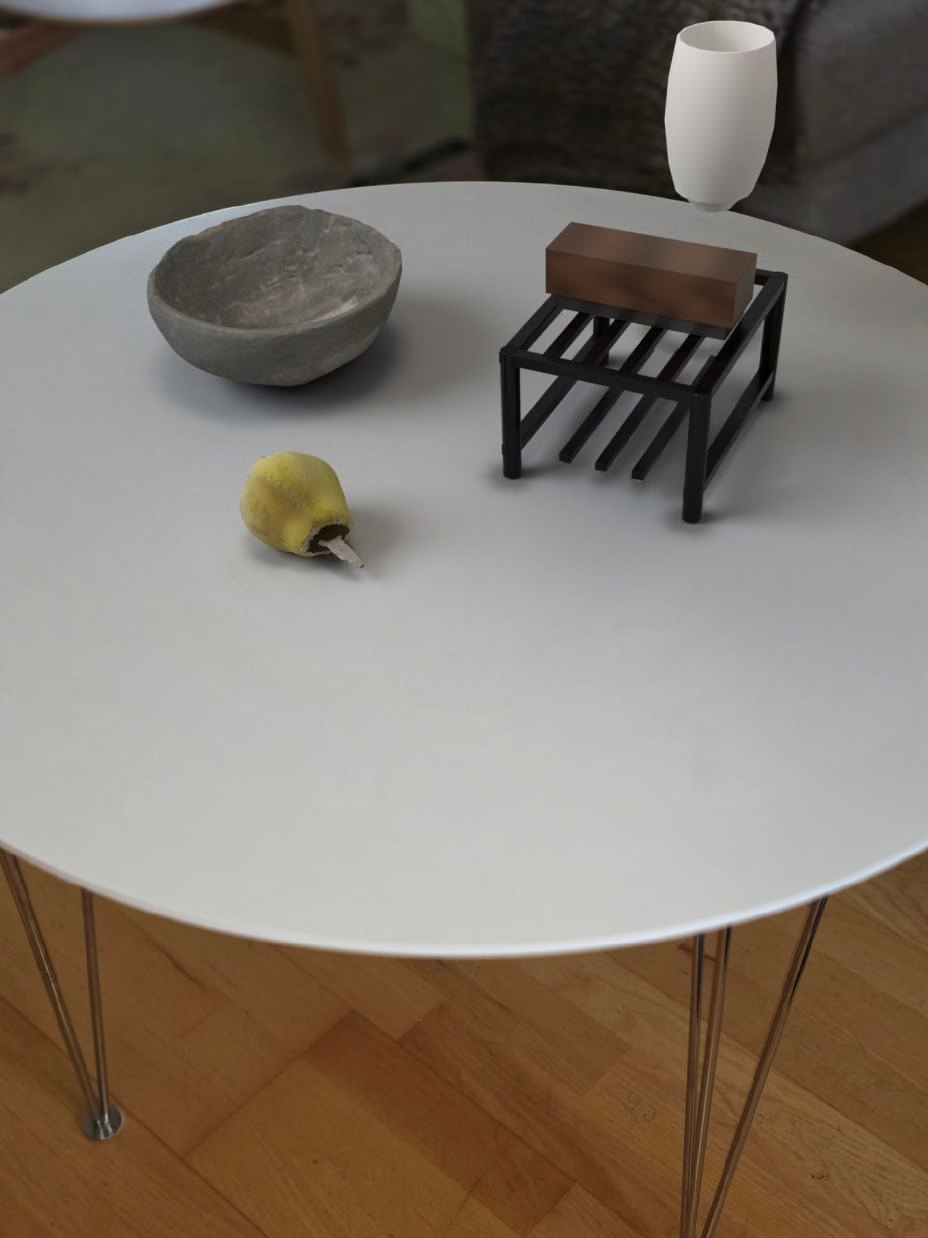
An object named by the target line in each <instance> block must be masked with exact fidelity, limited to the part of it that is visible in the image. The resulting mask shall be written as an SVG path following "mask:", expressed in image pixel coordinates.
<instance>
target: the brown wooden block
mask: <svg viewBox="0 0 928 1238" xmlns="http://www.w3.org/2000/svg"><path fill="white" fill-rule="evenodd" d="M757 261H758V253H757V252H750V251H745V250H739V249H734V248H727V247H721V246H716V245H710V244H704V243H699V242H692V241H686V240H681V239H674V238H669V237H663V236H658V235H657V236H656V235H651V234H646V233H639V232H634V231H627V230H622V229H616V228H612V227H611V228H610V227H606V226H600V225H593V224H589V223H588V224H586V223H582V222H576V221H570V222H569V223H568V224H567V225H566V226H565V228H563V230H562V231H561V232H559V234H558V235H557V236H556V237H555V238H554V239H553V240H552V241H551V242H550V243H548V245H547V246H546V247H545V294H549V295H551V294H553V307H555V308H560V309H564V310H565V311H572V312H576V313H578V312H580V313H585V314H590V315H596V316H601V317H606V318H610V320H611V319H612V320H615V319H616V320H621V321H626V322H631V324H637V325H642V326H647V327H657V328H662V329H667V330H668V331H672V332H677V333H683V334H688V335H689V334H692V335H697V336H702V337H706V338H707V339H714V340H719V341H723V342H726V341H727V339H728V338H729V336H730V335H731V334H732V332H733V331H734V329H735V328H736V326H737V325H738V323H739V322H740V320H741V319H742V317H743V316H744V314H745V313H744V312H746V310H747V308H748V307H749V305H750V303H751V302H752V300H753V299H754V289H755V284H754V281H755V271H756V268H757Z"/></svg>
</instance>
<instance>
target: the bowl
mask: <svg viewBox="0 0 928 1238" xmlns="http://www.w3.org/2000/svg"><path fill="white" fill-rule="evenodd" d="M402 274H403V259H402V252H401V248H399V247H398V246H397V245H396V244H395V243H394V242H392V241H390V240H389V239H388V237H387V236H385V235H384V234H382V233H381V232H380V231H378V230H377V229H376V228H374V227H372V226H371V225H369V224H365V223H364V222H362V221H360V220H358V219H355V218H353V217H349V216H346V215H343V214H340V213H339V214H338V213H333V212H329V211H326V210H323V209H321V208H314V209H311V208H309V207H306V206H303V205H300V204H291V205H289V204H288V205H287V204H286V205H280V206H275V207H271V208H265V209H260V210H258V211H254V212H252V213H250V214H247V215H244V216H239V217H235V218H232V219H229V220H226V221H222V222H221V223H220V224H218V225H214V226H210V227H207V228H205V229H204V230H202V231H200V232H199V233H198V234H190V235H187V236H184V237H183V238H181V239H179V240H178V241H176V242H175V243H174V244H173V245H172V246H171V247H169V248H168V249H167V250H166V252H164V254H163V255H162V257H161V260H160V261H159V262H158V263H157V264H156V265H154V267H153V268H152V270H151V271H150V272H149V273H148V277H147V284H146V299H147V305H148V306H147V307H148V310H149V313H150V316H151V318H152V320H153V322H154V324H155V325H156V328H157V329H158V330H159V332H160V333H161V335H162V337H163V338H164V340H165V341H166V342H167V344H168V345H169V346H170V348H171V349H172V350H173V351H174V352H175V353H176V355H177V356H178V357H180V358H181V359H183V360H184V361H185V362H187V363H188V364H189V365H192V366H193V367H194V368H196V369H198V370H201V371H203V372H204V373H207V374H211V375H213V376H215V377H218V378H221V379H225V380H228V381H231V382H232V381H233V382H240V383H249V384H255V385H256V384H257V385H265V386H281V387H293V386H294V387H295V386H301V385H306V384H308V383H310V382H312V381H314V380H317V379H318V378H321V377H323V376H325V375H327V374H329V373H331V372H332V371H334V370H337V369H338V368H340V367H342V366H343V365H346V364H347V363H349V362H351V361H353V360H355V359H356V358H358V357H359V356H360V355H362V354H363V353H364V352H365V351H366V350H367V349H368V348H369V347H370V346H371V345H372V343H374V341H375V339H376V338H377V336H378V335H379V333H380V332H381V331H382V329H383V327H384V325H385V324H386V323H387V321H388V318H389V317H390V316H391V312H392V311H393V307H394V304H395V303H396V300H397V296H398V293H399V288H400V283H401V278H402Z"/></svg>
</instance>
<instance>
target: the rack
mask: <svg viewBox="0 0 928 1238" xmlns="http://www.w3.org/2000/svg"><path fill="white" fill-rule="evenodd" d="M788 283H789V273H786V272H784V271H778V270H776V271H774V270H768V269H763V268H757V267H756V271H755V281H754V286H761V289H760V291H758V294H757V295H756V296H755V298H754V300H753V301H752V303H751V304H749V305H750V306H748V307H747V308H748V309H746V310H745V313H744V314H743V315H742V317H741V318H740V320H739V321H738V323H737V324H736V326H735V327H734V329H733V330H732V332H731V333H730V334H729V336H728V337H727V339H726V340H725V341H724V344H723V345H722V347H721V348H720V350H719V351H718V352H717V354H716V355H714V354H710V355H709V357H708V358H707V360H706V361H705V363H704V364H703V365H702V367H701V369H699V371H698V373H697V374H696V376H695V377H694V379H693V381H691V383H690V384H687V383H682V382H677V380H678V378H679V377H680V375H681V374H682V373H683V371H684V369H686V367H687V365H688V364H689V363H690V361H691V360H692V358H693V357H694V356H695V354H696V352H697V351H698V350H699V348H700V346H701V345H702V344H703V342H704V341H705V340H706V338H707V337H702V336H697V335H692V334H688V335H687V337H686V338H685V339H684V340H683V342H682V343H681V345H680V346H679V348H678V347H677V348H676V349H675V351H674V352H673V353H672V355H671V357H669V359H668V361H667V362H666V363H665V365H664V366H663V367H662V369H660V371H659V373H658V374H657V375H656V377H654V376H650V375H649V376H648V375H644V374H639V372H640V371H641V369H643V367H644V366H645V364H646V363H647V362H648V360H649V359H650V358H651V356H652V355H653V353H654V352H655V350H656V347H657V346H658V344H659V343H660V342H661V341H662V339H663V338H664V336H665V335H666V334H667V333H668V331H669V330H667V329H662V328H657V327H652V326H650V328H649V330H648V331H647V332H646V333H645V335H644V336H643V338H642V339H641V340H640V341H639V343H638V344H637V345H636V346H635V348H634V349H633V350H632V351H631V353H630V354H629V355H628V357H627V358H626V360H624V362H623V363H622V364H621V366H620V367H619V368H618V369H616V368H610V367H607V365H609V363H610V351H611V350H612V348H613V347H614V346H615V344H617V342H618V341H619V339H621V337H622V335H623V334H624V333H625V332H626V331H627V330H628V329H629V327H630V326H631V324H632V323H631V322H626V321H621V320H616V319H613V321H611V318H606V317H601V316H596V315H590V314H585V313H580V312H577V313H576V315H575V316H574V317H573V318H572V319H571V321H570V322H569V323H568V324H567V325H566V326H565V327H564V328H563V330H562V331H561V332H560V333H559V335H557V337H555V339H554V340H553V341H552V342H551V344H549V346H548V347H547V348H546V349H545V351H544V352H543V353H541V352H535V351H530V348H532V346H534V344H535V343H536V342H537V340H538V339H539V338H540V337H541V336H542V335H543V334H544V333H545V331H546V330H547V329H548V328H549V327H550V325H552V323H554V321H555V320H556V319H557V318H558V317H559V315H560V314H561V313H562V312H563V311H564V310H565V309H560V308H555V307H553V294H550V295H549V297H548V298H547V299H546V300H545V301H544V302H543V303H542V304H541V305H540V306H539V308H538V309H537V310H535V312H534V313H533V314H532V315H531V316H530V318H529V319H527V321H526V322H525V323H524V324H523V325H522V326H521V327H520V329H519V330H518V331H517V332H516V333H515V334H514V335H513V336H512V337H511V338H510V339H509V341H508V342H507V343H506V344H505V345H503V346H502V347H500V348H499V351H498V363H499V376H500V377H499V378H500V409H501V410H500V411H501V412H500V413H501V456H502V475H503V477H504V478H506V479H509V480H514V479H518V478H520V477H521V476H522V474H523V472H522V471H523V464H522V457H523V456H522V451H523V450H524V449H525V448H526V446H527V445H528V444H529V442H530V441H532V439H533V437H534V436H535V435H536V434H537V433H538V431H539V430H540V429H541V427H542V426H543V425H544V424H545V423H546V421H547V420H548V419H549V417H550V416H551V415H552V414H553V413H554V412H555V410H556V409H557V408H558V406H559V405H560V403H562V401H563V400H564V399H565V398H566V397H567V395H568V393H570V391H571V390H573V388H574V386H575V385H576V384H577V383H578V381H579V382H584V383H588V384H592V385H597V386H602V387H607V390H606V391H605V392H604V393H603V395H602V396H601V398H600V399H599V400H598V402H597V403H596V404H595V405H594V406H593V408H592V409H591V411H590V412H589V413H588V414H587V416H586V417H585V419H584V420H583V421H582V422H581V424H580V425H579V426H578V428H576V430H575V432H574V433H573V434H572V435H571V437H570V438H569V440H568V441H567V442H566V444H564V446H563V448H562V449H561V450H560V451H559V453H558V462H560V463H564V464H570V465H571V464H572V462H573V461H574V460H575V459H576V457H577V456H578V455H579V453H580V452H581V450H582V449H583V448H584V446H585V445H586V443H587V442H588V441H589V439H590V438H591V437H592V435H593V434H594V433H595V432H596V431H597V430H598V427H599V426H600V425H601V423H602V422H603V421H604V420H605V418H606V417H607V415H608V414H609V412H610V411H611V410H612V408H613V407H614V406H615V405H616V403H617V402H618V401H619V400H620V398H621V397H622V395H623V394H624V393H625V391H626V392H630V393H635V394H640V395H642V396H641V398H639V400H638V402H637V403H636V405H635V406H634V407H633V409H632V410H631V411H630V413H629V414H628V416H627V417H626V419H624V421H623V422H622V423H621V425H620V427H619V428H618V429H617V431H616V432H615V434H614V435H613V436H612V438H611V439H610V440H609V442H608V443H607V444H606V446H605V447H604V449H603V450H602V452H601V453H600V455H599V456H598V457H597V458H596V460H595V461H594V470H595V471H599V472H603V473H607V472H608V470H609V469H610V468H611V466H612V465H613V464H614V462H615V461H616V459H617V458H618V457H619V455H620V454H621V452H622V451H623V450H624V448H625V447H626V446H627V444H628V442H629V441H630V439H631V438H632V437H633V435H635V432H636V431H637V430H638V428H640V426H641V424H642V423H643V421H644V420H645V418H646V417H647V416H648V414H649V413H650V411H651V410H652V408H653V407H654V406H655V404H656V403H657V401H658V400H659V399H662V400H667V401H673V402H677V403H676V405H675V406H674V408H673V410H672V411H671V413H670V414H669V415H668V417H667V418H666V420H665V421H664V422H663V425H662V426H661V427H660V429H659V430H658V431H657V433H656V434H655V435H654V437H653V439H652V440H651V441H650V443H649V445H648V446H647V448H646V449H645V450H644V452H643V453H642V455H641V456H640V458H639V459H638V460H637V462H636V463H635V464H634V466H633V468H632V469H631V473H630V474H631V475H630V479H632V480H636V481H638V482H639V481H640V482H644V481H645V479H646V477H648V475H649V473H650V471H651V470H652V468H653V467H654V466H655V464H656V463H657V461H658V460H659V458H660V456H662V454H663V452H664V451H665V449H666V448H667V446H668V445H669V443H670V442H671V441H672V439H673V437H674V436H675V434H676V433H677V431H678V430H679V428H680V427H681V425H682V424H683V423H684V421H685V419H686V417H688V414H689V417H688V429H687V440H686V453H685V465H684V466H685V467H684V480H683V489H682V490H683V492H682V502H681V503H682V504H681V519H682V521H683V522H685V523H687V524H696V523H699V522H700V521H701V520H702V516H703V505H704V504H703V503H704V494H705V492H706V491H707V489H708V487H709V486H710V484H711V482H712V481H713V479H714V478H715V476H716V474H717V473H718V471H719V469H720V467H721V466H722V464H723V463H724V461H725V459H726V458H727V456H728V454H729V453H730V451H731V450H732V447H733V446H734V444H735V443H736V441H737V440H738V438H739V436H740V435H741V432H742V431H743V429H744V428H745V426H746V425H747V424H748V422H749V419H750V418H751V417H752V414H753V413H754V411H755V410H756V407H757V406H758V404H759V403H760V401H762V402H769V401H771V400H773V399H774V395H775V387H776V380H777V372H778V371H777V370H778V363H779V356H780V346H781V340H782V331H783V323H784V314H785V308H786V300H787V299H786V298H787V291H788ZM590 323H592V334H591V336H590V337H589V338H588V339H587V341H585V343H584V344H582V347H580V349H579V350H578V351H577V352H576V354H575V355H574V356H573V358H572V359H568V358H564V357H563V355H564V354H565V353H566V352H567V351H568V349H569V348H570V347H571V346H572V345H573V344H574V342H575V341H576V340H577V338H578V337H579V336H580V335H581V334H582V333H583V331H584V330H585V329H586V328H587V326H588V325H589V324H590ZM762 324H763V326H762V333H761V334H762V335H761V344H760V353H759V361H758V369H757V371H756V372H755V373H754V375H753V376H752V378H751V380H750V382H749V383H748V385H747V386H746V388H745V389H744V391H743V393H742V394H741V396H740V398H739V399H738V400H737V402H736V404H735V406H734V407H733V409H732V410H731V411H730V413H729V415H728V417H727V418H726V420H725V421H724V423H723V425H722V426H721V428H720V429H719V431H718V432H717V434H716V436H715V438H714V439H713V441H712V442H711V444H710V445H709V437H710V436H709V435H710V427H711V415H712V405H713V404H712V403H713V399H714V397H715V396H716V394H717V392H718V390H720V388H721V386H722V385H723V383H724V382H725V380H726V379H727V377H728V376H729V374H730V373H731V371H732V369H734V367H735V365H736V364H737V362H738V360H739V359H740V357H741V356H742V354H743V352H744V351H745V350H746V348H747V347H748V345H749V344H750V342H751V340H752V339H753V337H754V336H755V334H756V333H757V331H758V330H759V328H760V327H761V325H762ZM521 369H523V370H529V371H533V372H538V373H542V374H547V375H552V376H557V377H556V378H555V379H554V380H553V382H552V383H551V384H550V385H549V386H548V388H547V389H546V390H545V391H544V392H543V394H542V395H541V396H540V397H539V398H538V400H537V401H536V402H535V403H534V405H532V407H531V408H530V409H529V411H528V412H527V413H526V414H525V416H524V417H523V418H522V406H521V405H522V403H521V401H522V399H521V398H522V397H521Z"/></svg>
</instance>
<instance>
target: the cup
mask: <svg viewBox="0 0 928 1238" xmlns="http://www.w3.org/2000/svg"><path fill="white" fill-rule="evenodd" d="M776 42H777V40H776V37H775V34H774V32H773V31H772V30H770V29H769V28H767V27H765V26H763V25H759V24H756V23H753V22H747V21H739V20H738V21H737V20H711V21H704V22H699V23H695V24H692V25H689V26H686V27H684V28H683V29H682V30H680V31H679V33H677V35H676V39H675V44H674V49H673V54H672V59H671V63H670V68H669V73H668V78H667V91H666V99H665V111H664V126H665V127H664V128H665V130H664V131H665V140H666V141H665V142H666V149H667V161H668V166H669V170H670V174H671V178H672V182H673V186H674V190H675V192H676V193H677V194H679V195H680V196H681V197H682V198H685V199H686V200H687V201H688V202H689V203H690V205H691V206H692V207H693V208H694V209H696V210H698V211H700V212H704V213H722V212H726V211H728V210H730V209H731V208H732V207H733V206H735V204H736V203H738V201H741V200H743V199H746V198H747V197H749V196H750V194H751V193H753V190H754V188H755V186H756V183H757V181H758V179H759V177H760V175H761V172H762V170H763V168H764V165H765V163H766V159H767V155H768V153H769V152H768V151H769V148H770V144H771V140H772V137H773V132H774V128H775V122H776V121H775V120H776V106H777V95H778V94H777V93H778V66H777V63H778V62H777V44H776Z"/></svg>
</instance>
